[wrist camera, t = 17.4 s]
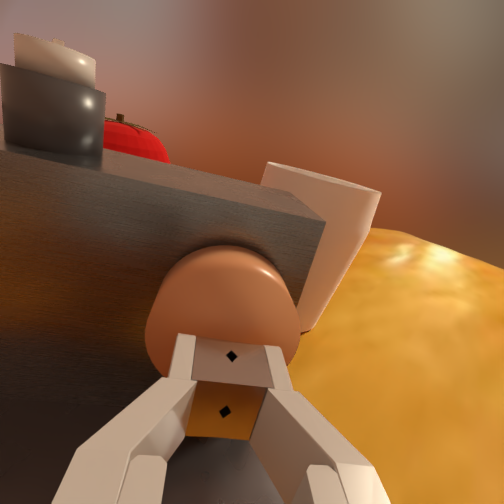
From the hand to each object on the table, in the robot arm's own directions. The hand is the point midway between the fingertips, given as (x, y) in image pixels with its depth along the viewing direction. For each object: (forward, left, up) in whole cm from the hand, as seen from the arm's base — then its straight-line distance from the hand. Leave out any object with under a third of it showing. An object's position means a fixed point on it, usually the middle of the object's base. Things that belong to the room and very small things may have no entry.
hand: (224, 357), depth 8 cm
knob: (+5, -3, -3) cm, 6 cm away
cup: (+10, -13, -7) cm, 18 cm away
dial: (+9, +4, +4) cm, 10 cm away
